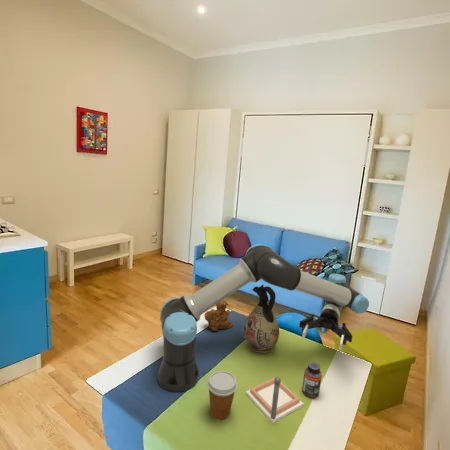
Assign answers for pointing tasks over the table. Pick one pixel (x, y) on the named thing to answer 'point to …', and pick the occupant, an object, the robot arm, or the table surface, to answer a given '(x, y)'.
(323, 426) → the table surface
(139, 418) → the table surface
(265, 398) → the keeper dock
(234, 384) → the disposable coffee cup
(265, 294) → the ceramic jug
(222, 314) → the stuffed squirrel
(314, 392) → the supplement bottle
